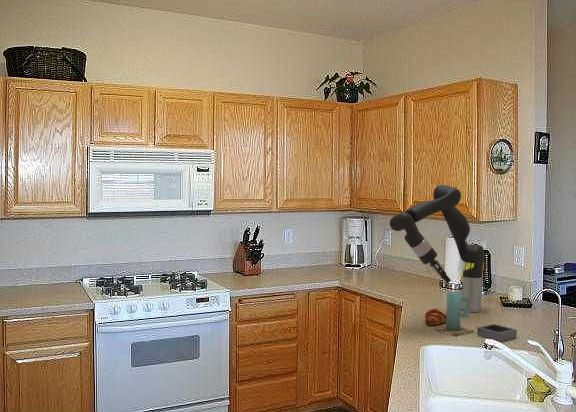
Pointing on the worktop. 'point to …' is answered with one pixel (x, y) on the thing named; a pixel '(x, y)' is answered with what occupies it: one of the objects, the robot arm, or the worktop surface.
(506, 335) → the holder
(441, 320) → the croissant
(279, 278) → the worktop surface
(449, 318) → the jug
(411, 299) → the worktop surface
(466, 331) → the board
